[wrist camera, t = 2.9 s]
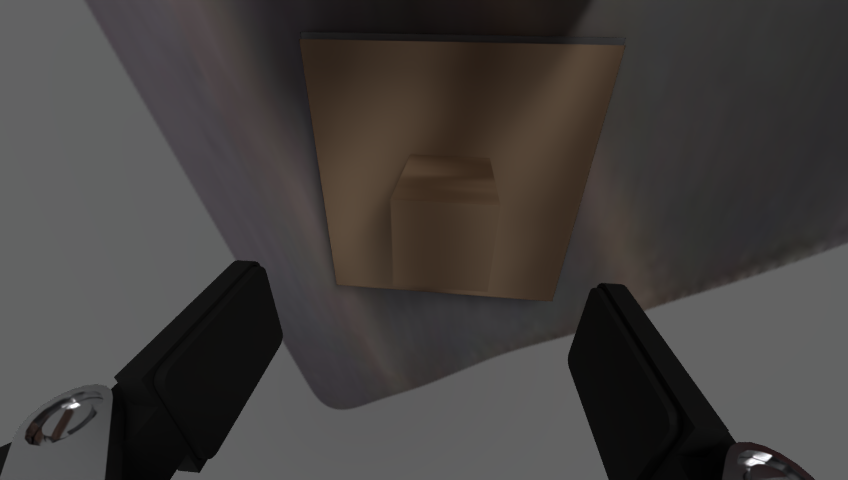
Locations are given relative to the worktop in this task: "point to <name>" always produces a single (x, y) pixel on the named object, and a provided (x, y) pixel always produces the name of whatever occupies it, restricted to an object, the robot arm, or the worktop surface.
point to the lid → (455, 159)
